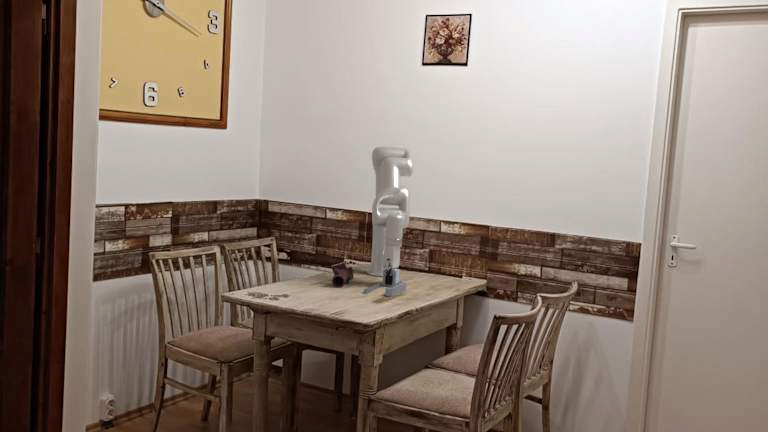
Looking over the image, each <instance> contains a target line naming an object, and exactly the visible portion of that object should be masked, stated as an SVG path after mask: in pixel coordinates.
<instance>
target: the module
mask: <svg viewBox="0 0 768 432" xmlns="http://www.w3.org/2000/svg"><path fill="white" fill-rule="evenodd" d="M390 272H391V270H390ZM400 272H401V270H400V269H399V268H397V269H393V272H392V276H393V280H392V285H394V284H396V283H398V282H400V274H401V273H400ZM385 273H386V272H385V269H383V276H382V286H385V287H386V286H387V287H390V286H392V285H388V284H385Z"/></svg>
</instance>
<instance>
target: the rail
mask: <svg viewBox="0 0 768 432" xmlns="http://www.w3.org/2000/svg"><path fill="white" fill-rule="evenodd" d="M382 286H383V285H382V283H381V282H377V283H375V284H373V285H371V286H368V287H365V288H363V294H369V293H371V292H374V291H375V290H377V289H380V288H382ZM406 290H407V282H405V281H400V280H399V282H398V283H396V284H394V285H392V286H387V287H386V288H385V294H384V296H385V297H391V298H392V297H394V296H396V295H398V294H401V293H402V292H404V291H406Z"/></svg>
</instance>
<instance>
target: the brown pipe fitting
mask: <svg viewBox="0 0 768 432" xmlns="http://www.w3.org/2000/svg"><path fill="white" fill-rule="evenodd" d="M330 267H331V270H332V273H333V277H332V279H331V283H332V285H333V286H334V287H335V288H339V287H340V288H343V287H344V285H345V283H346V284H348V283H349V282H350V281H351V280H353V279H354V270H353V267H352V266H347V265H346V262H345V261H343V262H340V263H336V264H332V265H331V266H330Z"/></svg>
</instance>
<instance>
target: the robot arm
mask: <svg viewBox="0 0 768 432" xmlns="http://www.w3.org/2000/svg"><path fill="white" fill-rule="evenodd" d="M371 162H372V167H373V170H374V173H375V197H374V200H373V202H372V207H371V209H372V210H371V219H372V222H371V223H372V243H371V244H372V246H371V247H372V249H371V258H370V261H371V263H369V264H368V263H363V264H362V268H363V269H368V270H367V272H366V273H367V274H368V275H370V276H376V277H383V269H385V272H386V273H385V284H388V285H392V280H393V276H392V272H393V269H398V267H399V266H400V264H401V263H400V262H401V247H403V246H402V245H403V231H404V229H407V228H408V227H409V224H410V191H409V189H408V187H406V186H405V185H401V177H410V176H412V175H413V173H414V162H413V159H412V155H411V151H410V150H408V148H405V147H393V146H377V147H375V148H373V149H372V153H371ZM380 205H382V206H396V207H379V206H380ZM397 207H398V208H397ZM390 270H391V272H390Z"/></svg>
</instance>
